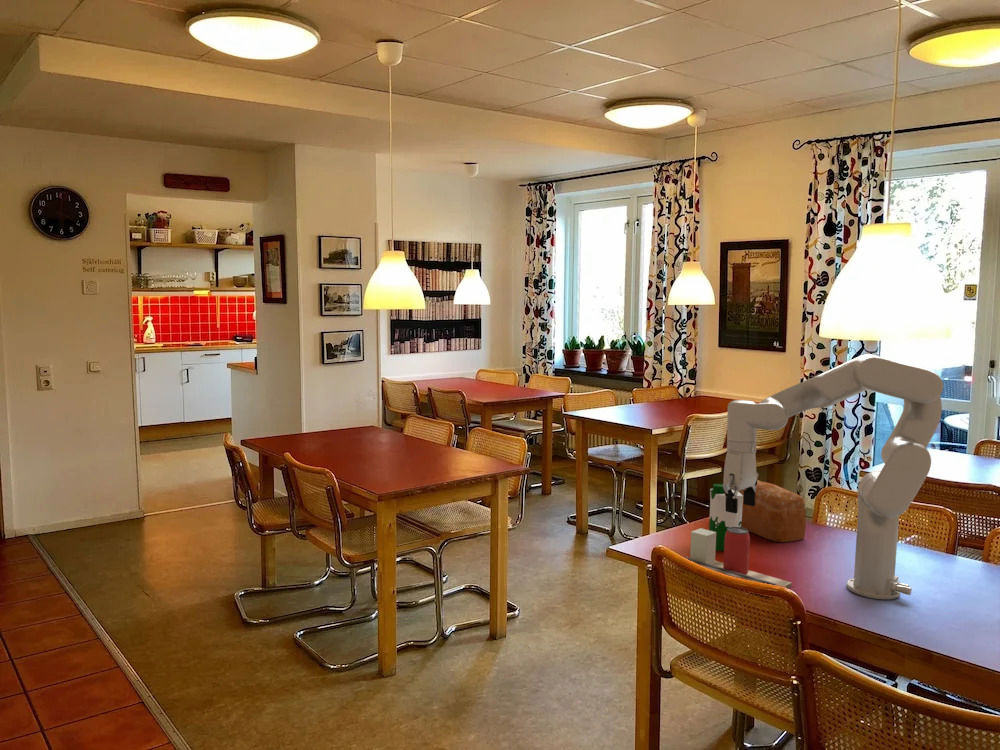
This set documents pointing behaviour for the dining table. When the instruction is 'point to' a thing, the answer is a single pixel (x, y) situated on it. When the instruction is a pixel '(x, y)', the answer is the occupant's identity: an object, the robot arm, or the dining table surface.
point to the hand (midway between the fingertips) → (740, 508)
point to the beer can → (736, 550)
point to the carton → (703, 546)
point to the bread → (775, 513)
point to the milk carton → (722, 514)
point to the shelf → (749, 576)
